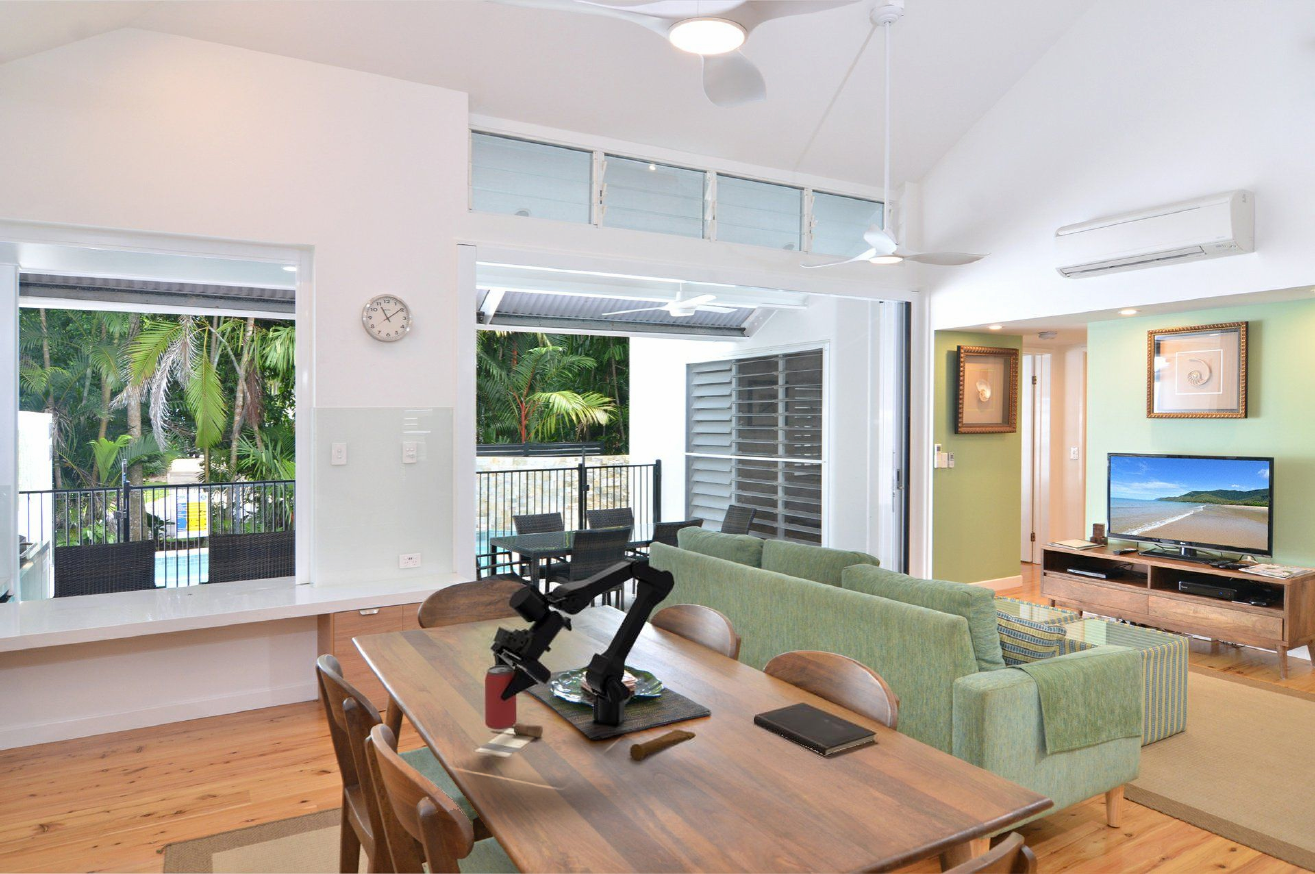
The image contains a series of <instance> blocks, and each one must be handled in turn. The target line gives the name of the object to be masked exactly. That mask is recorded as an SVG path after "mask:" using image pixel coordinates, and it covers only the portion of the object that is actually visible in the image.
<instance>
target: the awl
mask: <svg viewBox="0 0 1315 874" xmlns="http://www.w3.org/2000/svg"><path fill="white" fill-rule="evenodd" d="M510 728H512V729H514V733H515V734H521V735H527V736H533V737H535V738H541V737H542V736H543V734H544V729H543V726H542V725H538V724H537V725H535V724H530V723H524V722H519V721H516V723H515V725H513V726H512V727H510Z"/></svg>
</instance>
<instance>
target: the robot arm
mask: <svg viewBox="0 0 1315 874" xmlns="http://www.w3.org/2000/svg"><path fill="white" fill-rule="evenodd" d="M631 579H633V580H636V581H637V583H636V594H635V599H634V601H633V603H632V604H631V606H630V608H629V610H628V612H627V613H626V615H625V617H624V619H623V620H622V622H621V624H620V626H619V627H618V629H617V631H616V633H615V635H614V637H613V638H612V641H611V642H610V644H609V646H608V647H607V649H606V650H605V651H604V652H602V653H601V654H599V653H597V652H595V653H594V654H593V655H592V657H591V660H590V662H589V663H588V665H587V666H586V667H585V668H586V672H585V673H584V674H585V675H584V678H585V683H586V684H587V686H588V687H589V688H590V691H591V693H592V694H594V695H595V696H594V701H593V702H592V708H593V709H592V719H593V720H592V721H591V724H593V725H599V726H605V727H609V728H610V727H612V728H618V727H619V726H621V724H623V723H624V722H626V721H627V720H628V716H625V714H626V713H625V711H626V710H625V706H626V705H625V703H626V701H625V700H628V699H629V697H630V693H631V689H630V688H629V687H628V686H627V685H626V684H625V683H624V682H623V678H624V676H625V671H626V670H625V666H626V665H625V664H626V660H627V658H628V656H629V654H630V652H631V650H632V648H633V647H634V645H635V643H636V641H637V639H638V638H639V637H640V636H639V635H640V634H641V632H642V630H643V629H644V626H645V625H646V623H647V621H648V619H649V617H650V616H651V614H652V612H653V610H654V608H655V607H657V606H658V605H659V604H660V603H662V602H663V601H665V600H666V598H667V597H668V596H669V594H671V592H672V590H673V589H674V587H675V583H676V582H675V577H674V575H673V573H672V572H671V571H670V570H669V569H667V570H666V569H663V568H659V567H656V566H655V567H654V566H650V565H648V564H646V563H644V562H643V561H641V560H640V559H637V558H636V559H635V558H631V557H626V558H624V559H623V560H622V561H620V562H618V563H617V564H614V565H612V566H609V567H608V568H606V569H603V570H602V571H600V572H598V573H596V574H594V575H591V576H590V577H588V578H587V577H586V578H585V579H582V580H577V581H569V582H565V583H563V584H560V585H557V586H556V587H554V588H553V590H551V591H548V592H545V593H543V592H541V591H540V590H539V588H538V586H537V585H535V584H534V583H531V582H528V583H527V585H526V586H523V587H521V588H519V589H518V590H517V591H514V593H513V594H512V595H511V597H510V599H509V602H508V605H509V607H510V608H511V609H512V610H513V611H515V613H516V614H517V615H519V617H521V618H522V619H523V620H524V621H525V622H526V623H528V624H529V623H532V624H531V626H530V627H529V628H528V629H526V628H523V629H522V630H520V629H517V628H516V629H514V630H511V629H509V628H508V629H507V628H504V627H502V626H499V627H498V628H497V632H496V634H495V636H494V639H493V642H494V643H493V644H492V646H491V647H489V648H490V650H491V651H492V652H493V654H492V656H493V657H494V664H495V665H494V666H498V665H507V666H511V667H513V668H514V676H513V678H512V679H511V681H510V682H509V684H508V686H507V687H506V689H505V690H504V692H503V694H502V696H501V699H502V700H503V701H505V700H507V699H509V698H511V697H512V696H514V695H516V696H517V695H518V694H520V693H521V692H523V691H525V690H527V689H529V688H531V687H533V686H538V685H539V683H541V684H543V686H546V685H547V684H548V682H549V681H550V680H551V678H552V672H551V670H550V669H549V668H547V667H546V666H545V665H544V664H543V663H542V662H541V661H539V659H540V658H541V657H542V656H543V654H544V652H547V653H550V651H552V648H551V647H550V646H551V643H552V642H553V641H554V640H555V639H556V638H557V635H558V634H559V633H560V632H561V630H562V629H564V630H566V631H568V632H572V630H573V627H572V618H570V617H568V616H564V615H562V614H561V613H560V612H563V613H565V614H568V615H571V616H575V615H578V614H579V613H581V612H582V611H584V610H585V609H586V608H587V607H589V606H590V604H591V603H592V601H593V600H594V599H595V598H597V597H598V596H600V595H602V594H604V593H607V592H609V591H610V590H612V589H613V588H616V587H619V586H620V585H622V584H624V583H625V582H628V581H629V580H631ZM549 607H551V608H553V609H555V610H552V609H550V608H549ZM559 611H560V612H559ZM538 681H539V682H538Z"/></svg>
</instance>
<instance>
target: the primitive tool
mask: <svg viewBox="0 0 1315 874" xmlns="http://www.w3.org/2000/svg"><path fill="white" fill-rule="evenodd" d="M696 736H697V734H696V733H695V732H692V731H685V730H681V729H675V730H674V729H673V730H672V731H669V732H667V733H666V734H664V735H661V736H659V737H657V738H654V739H652V740H649V741H646V742H644V743H643V742H642V743H641V744H638V743H633V744H631V747H630V748H629V753H630V754H629V755H630V757H631V758H632V759H633V760H635V761H642V759H643V758H644V757H645V756H647V755H651V754H654V753H655V752H658V751H661V750H663V749H666V748H668V747H672V746H674V745H676V744H679V743H681V742H684V741H687V740H690V739H693V738H695V737H696Z"/></svg>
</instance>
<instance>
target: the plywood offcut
mask: <svg viewBox="0 0 1315 874" xmlns="http://www.w3.org/2000/svg"><path fill="white" fill-rule="evenodd" d="M535 738H536V737H533V736H527V735H521V734H515V733H514V729H512V728H507V729H505V731H504V732H501V733H500V734H499V735H497V736H496V737H494V738H493V739H491V740H489V741H487V742H486V743H485V744H483V745H482V746H480V747H479V748H477V749H476V750H474V752H476V753H480V754H485V755H492V756H497V757H502V758H509V757H510V756H512V755H513V754H514V753H515V752H517V751H519V750H520V749H521V748H522V747H524V746H526V745H527V744H528V743H529V742H531V741H533V740H534V739H535Z"/></svg>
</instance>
